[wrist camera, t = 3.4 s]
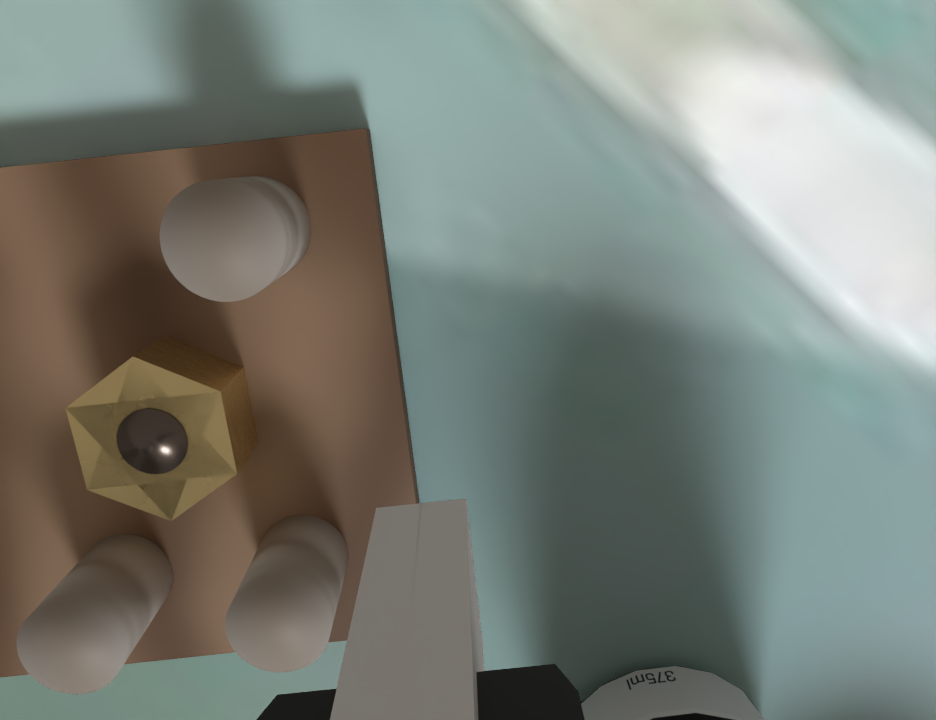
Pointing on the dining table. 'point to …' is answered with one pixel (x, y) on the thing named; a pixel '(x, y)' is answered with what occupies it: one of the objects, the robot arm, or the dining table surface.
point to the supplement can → (669, 697)
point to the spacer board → (224, 335)
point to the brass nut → (164, 428)
